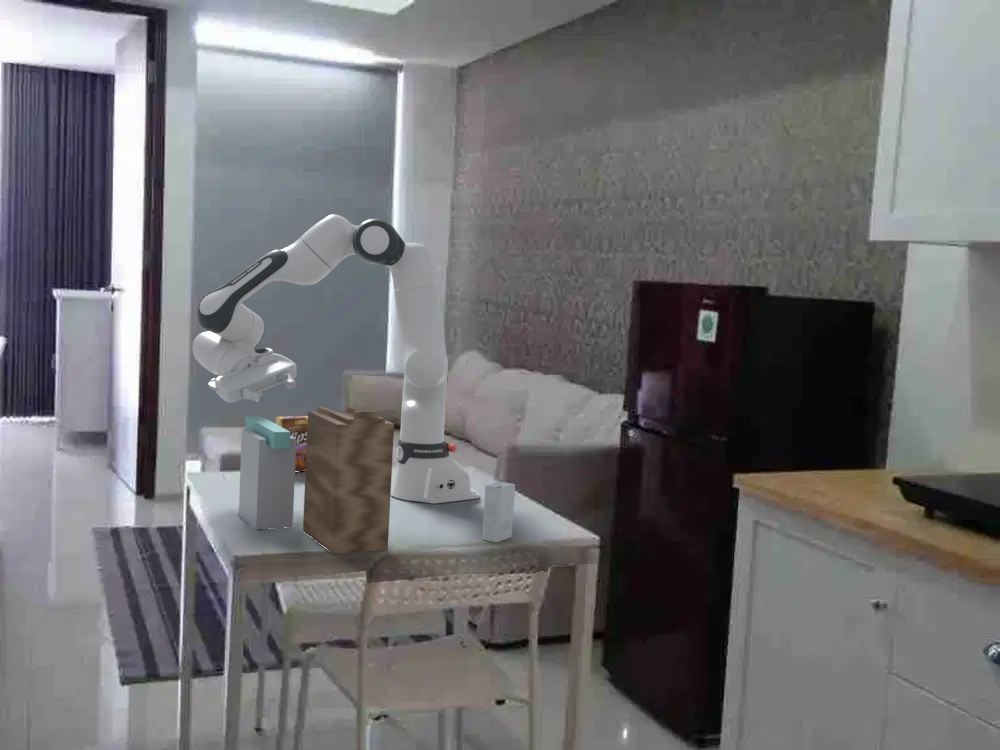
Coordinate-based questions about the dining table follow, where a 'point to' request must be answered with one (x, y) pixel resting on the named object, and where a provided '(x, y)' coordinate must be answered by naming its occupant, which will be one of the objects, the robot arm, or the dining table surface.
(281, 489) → the rest block
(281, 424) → the candy box
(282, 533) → the dining table surface
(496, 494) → the skincare box
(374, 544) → the notched wooden block
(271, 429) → the rail
